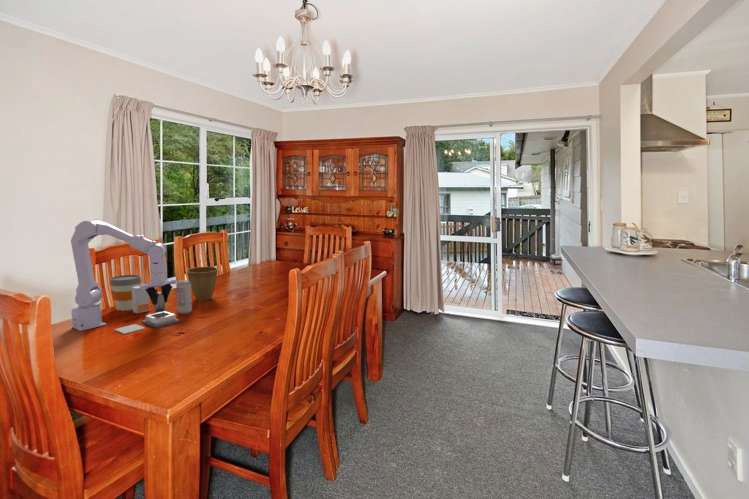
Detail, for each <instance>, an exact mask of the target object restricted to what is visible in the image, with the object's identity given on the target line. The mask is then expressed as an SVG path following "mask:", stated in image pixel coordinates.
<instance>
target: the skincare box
mask: <svg viewBox="0 0 749 499" xmlns="http://www.w3.org/2000/svg"><path fill="white" fill-rule="evenodd" d="M150 301H151V299H150V296H149V295H148V293H147V292H146V290H140V286H136V287H132V304H133V310H132V312H133V313H135V314H142V313H146V312H150V311H151V307H150V306H151V305H150Z"/></svg>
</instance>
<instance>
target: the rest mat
mask: <svg viewBox="0 0 749 499" xmlns="http://www.w3.org/2000/svg"><path fill="white" fill-rule="evenodd" d="M145 329H146V327H144V326H142V325H139V324H136V323H134V324H130V325H126V326H122V327H118V328H114V331H116V332H118V333H119V334H122V335H127V334H130V333H134V332H137V331H143V330H145Z"/></svg>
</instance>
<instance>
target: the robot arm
mask: <svg viewBox="0 0 749 499" xmlns="http://www.w3.org/2000/svg"><path fill="white" fill-rule="evenodd" d="M74 229H75V230H74V231H73V235H72V237H71V238H70V244H71V249H72V255H73V260H74V264H75V265H74V266H75V272H76V277H77V281H78V282H77V283H78V285H77V287H76V289H75V292H76V294H75V297H74V301H75V304H77V305H78V306H77V307H73V308H72V309H71V322H72V323H71V324H72V325H71V328H74V329H76V330H77V331H79V332H80V331H81V332H83V331H85V330H90V329H91V330H92V329H93V328H97V327H102V326H106V325H107V323H105V322H103V319H102V305H101V299H102V298H103V291H102V290H101V288H100V286H99V283H98V282H97V281H96V280H95V275H94V274H95V273H94V270H93V264H92V260H91V259H92V258H91V253H90V248H89V243H90V242H91V241H92V240H93V239H94V238H95V237H97V236H105V235H107V236H110V237H113V238H116V239H118V240H121V241H124V242H126V243H128V245H129V247H130V248H132V249H135V250H137V251H139V252H142V253H143V254H147V256H148V257H149V269H150V270H149V271H150V274H149V275H150V282H147V283H142V284H140V290H146V292H147V293H148V295H149V300H150V301H151V304H152V305H153V306H154V305H156V303H157V301H156V294H157V292H158V289H156V288H160V289H161V292H164V297H165V303H167V302H168V298H169V296H170V293H171V291H172V289H173V285H177V283H178V282H177V279H175V278H173V279H167V272H166V271H167V269H166V257H165V256H166V255H165V254H166V253H167V248H166V246H165V245H164V244H163V243H162V242H156V241H155V240H150V239H149V238H147V237H145V235H143V234H140V235H139V234H135V235H133V234H130V233H128V232H126V231H124V230H122V229H120V228H118V227H116V226H114V225H112V224H110V223H108V222H106V221H102V220H100V219H91V220H83V221H81V222H79V223H78V224H77V225H76V226H75V227H74Z"/></svg>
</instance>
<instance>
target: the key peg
mask: <svg viewBox="0 0 749 499" xmlns="http://www.w3.org/2000/svg"><path fill="white" fill-rule="evenodd" d="M156 301H157V303H156V305H154V304H153V306H154V308H153V310H154V312H155V313H159V312H163V311H166V302H165V297H164V292H162V291H157V294H156Z"/></svg>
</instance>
